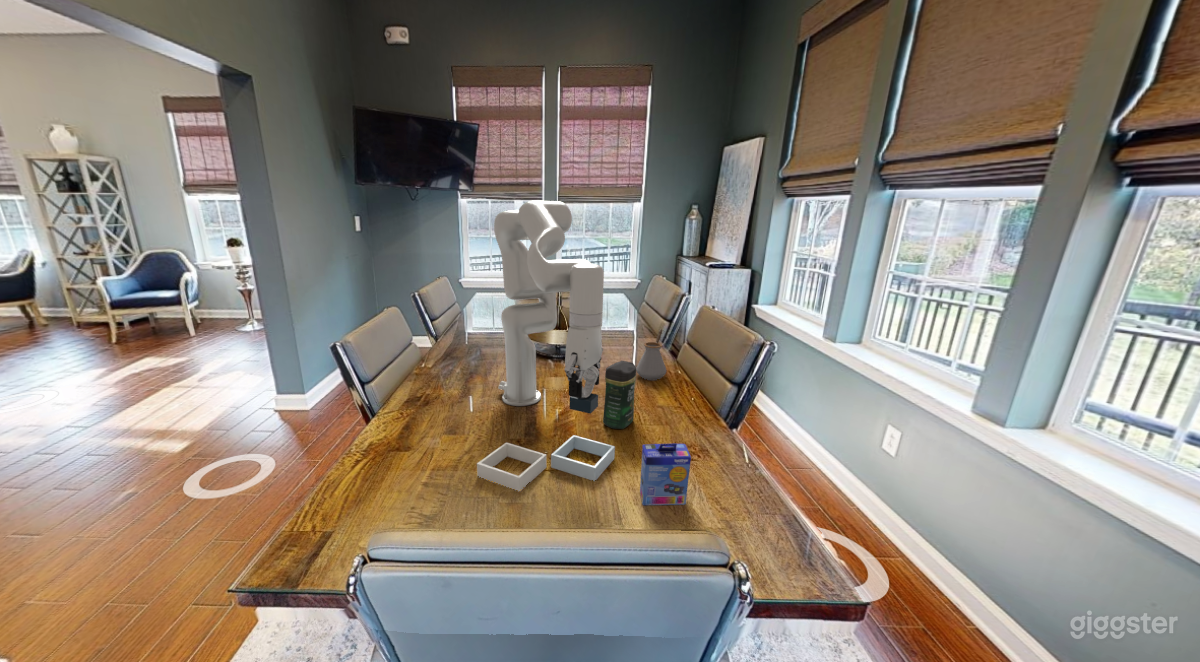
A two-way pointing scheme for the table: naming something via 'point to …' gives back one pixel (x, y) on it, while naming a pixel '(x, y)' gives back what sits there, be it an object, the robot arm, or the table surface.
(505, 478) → the tray near
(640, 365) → the coffee pot
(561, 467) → the tray far
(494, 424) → the table surface
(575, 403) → the watch
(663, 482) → the ink cartridge box
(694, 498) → the table surface
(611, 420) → the coffee jar
